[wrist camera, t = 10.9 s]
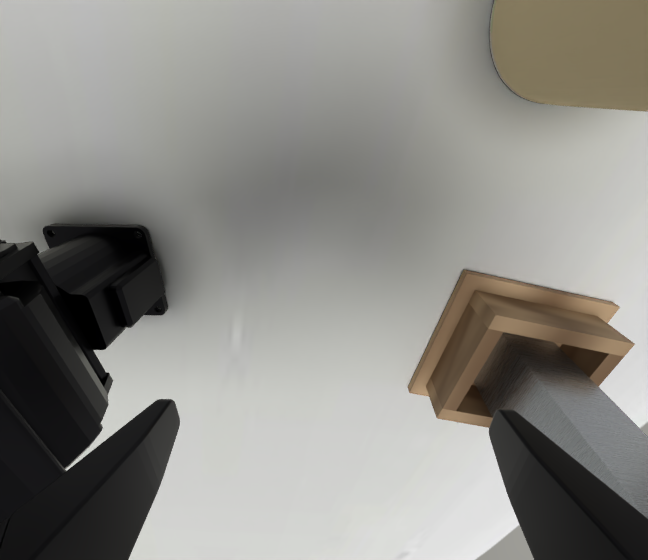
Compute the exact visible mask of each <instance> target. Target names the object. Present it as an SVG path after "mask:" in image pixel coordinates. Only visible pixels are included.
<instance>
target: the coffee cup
mask: <svg viewBox="0 0 648 560" xmlns="http://www.w3.org/2000/svg"><path fill="white" fill-rule="evenodd" d="M490 48H491V54H492V58H493V62H494V65H495V67H496V70H497V72H498V74H499V76H500V78H501V79H502V80H503V82H504V83H505V84H506V85H507V86H508V87H509V88H510V89H511V90H512V91H513V92H514V93H516V94H517V95H519V96H520V97H522V98H524V99H527V100H529V101H533V102H537V103H543V104H551V105H560V106H574V107H589V108H603V109H618V110H633V111H648V0H494V4H493V8H492V13H491V20H490Z"/></svg>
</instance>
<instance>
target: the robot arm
mask: <svg viewBox="0 0 648 560" xmlns="http://www.w3.org/2000/svg"><path fill="white" fill-rule="evenodd" d="M52 231H53V232H54V233H55V234H53V232H52ZM137 232H140V233H141V235H142V237H140V236H139V235H138V234H137ZM43 234H44V236H45V239H46V241H47V244H48V246H49V248H50V249H49V250H46V251H44V252H42V253H40V254H38V253H39V251H38V249H37V248H36V246H35V244H34V242H25V243H16V244H15V243H6V242H5V240H4V241H2V240H0V560H128V559H129V557H130V554H131V552H132V550H133V547H134V545H135V543H136V540H137V538H138V536H139V533H140V531H141V529H142V527H143V524H144V522H145V520H146V517H147V515H148V513H149V510H150V508H151V506H152V503H153V501H154V499H155V497H156V494H157V492H158V489H159V487H160V484H161V481H162V479H163V476H164V473H165V470H166V466H167V463H168V460H169V457H170V454H171V451H172V448H173V445H174V442H175V439H176V436H177V432H178V429H179V425H180V418H179V415H178V411H177V408H176V404H175V402H174V401H173V400H171V399H159V400H157V401H155V402H154V403H153V404H151V405H150V406H149V407H147V408H146V409H145V410H144V411H142V412H141V413H140V414H139V415H137V416H136V417H135V418H133V419H132V420H131V421H130V422H128V423H127V424H126V425H125V426H123V427H122V428H121V429H120V430H118V431H117V432H116V433H114V434H113V435H112V436H111V437H109V438H108V439H107V440H106V441H104V442H103V443H102V444H100V445H99V446H98V447H97V448H95V449H94V450H93V451H92V452H90V453H89V454H88V455H87V456H85V457H84V458H83V459H81V460H80V461H79V462H78V463H76V464H75V465H74V466H73V467H71V468H70V469H69V470H67V471H66V470H65V469H66V468H67V467H68V466H70V465H71V464H72V463H73V462H74V461H75V460H76V459H77V458H78V457H79V456H80V455H81V454H82V453H83V452H84V451H85V450H86V449H87V448H88V447H89V446H90V445H91V444H92V443H93V441H94V440H95V439H96V438H97V436H98V435H99V434H100V432H101V431H102V428H103V427H102V424H101V421H102V419H103V417H104V414H105V412H106V409H107V407H108V393H109V390H110V388H111V385H112V382H113V380H112V378H111V376H110V374H109V373H106V372H105V370H104V368H103V367H102V365H101V363H100V361H99V360H98V358H97V356H96V355H95V353H94V351H93V350H104V349H106V348H107V347H108V346H109V345H110V344H111V343H112V342H113V341H114V340H115V339H116V338H117V337H118V336H119V335H120V334H121V333H122V332H123V331H124V330H125V329H126V328H127V327H128V328H131V327H132V326H133V325H134V324H135V323H136V322H137V321H138V320H139V319H140V318H141V317H142V316H143V315H163V314H164V313H165V312H166V311H167V309H168V306H167V303H166V299H165V295H164V293H165V289H164V285H163V281H162V277H161V273H160V269H159V265H158V261H157V260H156V258H155V256H154V252H153V248H152V244H151V240H150V236H149V233H148V231H147V229H146V228H144V227H143V226H135V225H77V224H51V225H48V226H45V227H44V228H43ZM37 254H38V255H37ZM157 306H158V307H160V308H161V309H159V308H158V307H157ZM489 436H490V440H491V443H492V446H493V449H494V453H495V456H496V459H497V462H498V466H499V469H500V472H501V475H502V478H503V482H504V485H505V488H506V491H507V494H508V497H509V499H510V502H511V505H512V507H513V509H514V512H515V514H516V517H517V519H518V522H519V524H520V526H521V529H522V531H523V533H524V536H525V538H526V541H527V543H528V545H529V548H530V550H531V553H532V555H533V558H534V560H648V518H647V517H646V516H644V515H643V514H642V513H641V512H639V511H638V510H637V509H636V508H634V507H633V506H632V505H631V504H630V503H628V502H627V501H626V500H625V499H623V498H622V497H621V496H620V495H618V494H617V493H616V492H615V491H614V490H612V489H611V488H610V487H609V486H607V485H606V484H605V483H604V482H602V481H601V480H600V479H599V478H598V477H596V476H595V475H594V474H593V473H591V472H590V471H589V470H588V469H586V468H585V467H584V466H583V465H582V464H580V463H579V462H578V461H577V460H575V459H574V458H573V457H572V456H570V455H569V454H568V453H567V452H566V451H564V450H563V449H562V448H561V447H559V446H558V445H557V444H556V443H555V442H553V441H552V440H551V439H550V438H548V437H547V436H546V435H545V434H543V433H542V432H541V431H540V430H539V429H537V428H536V427H535V426H534V425H532V424H531V423H530V422H529V421H527V420H526V419H525V418H524V417H523V416H521V415H520V414H519V413H518V412H516V411H515V410H513V409H497V410H496V412H495V414H494V417H493V419H492V422H491V425H490V427H489Z"/></svg>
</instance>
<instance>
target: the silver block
mask: <svg viewBox="0 0 648 560" xmlns="http://www.w3.org/2000/svg"><path fill="white" fill-rule="evenodd" d="M474 384H475V385H476V387H477V389H478V391H479V393H480V395H481V397H482V399H483V400H484V402H485V404H486V406H487V408H488V410H489V412H490V413H491V415H492V417H494V414H495V412H496V410H497V409H513V410H515V411H516V412H518V413H519V414H520V415H521V416H523V417H524V418H525V419H526V420H527V421H529V422H530V423H531V424H532V425H534V426H535V427H536V428H537V429H539V430H540V431H541V432H542V433H543V434H545V435H546V436H547V437H548V438H550V439H551V440H552V441H553V442H555V443H556V444H557V445H558V446H559V447H561V448H562V449H563V450H564V451H566V452H567V453H568V454H569V455H570V456H572V457H573V458H574V459H575V460H577V461H578V462H579V463H580V464H582V465H583V466H584V467H585V468H586V469H588V470H589V471H590V472H591V473H593V474H594V475H595V476H596V477H598V478H599V479H600V480H601V481H602V482H604V483H605V484H606V485H607V486H609V487H610V488H611V489H612V490H614V491H615V492H616V493H617V494H618V495H620V496H621V497H622V498H623V499H625V500H626V501H627V502H628V503H630V504H631V505H632V506H633V507H634V508H636V509H637V510H638V511H639V512H641V513H642V514H643V515H644V516H646V517H647V518H648V436H647V435H646V434H645V433H643V431H642V430H641V429H640V428H639V427H638V426H637V425H636V424H635V423H634V422H633V421H632V420H631V419H630V418H629V417H628V416H627V415H626V414H625V413H624V412H623V411H622V410H621V409H620V408H619V407H618V406H617V405H616V404H615V403H614V402H613V401H612V400H611V399H610V398H609V397H608V396H607V395H606V394H605V393H604V392H603V391H602V390H601V389H600V388H599V387H598V386H597V385H596V384H595V383H594V382H593V381H592V380H591V379H590V378H589V377H588V376H587V375H586V374H585V373H584V372H583V371H582V370H581V369H580V368H579V367H578V366H577V365H576V364H575V363H574V362H573V361H572V360H571V359H570V358H569V357H568V356H567V355H566V354H565V353H564V352H563V351H562V350H561V349H560V348H559V347H558V346H557V345H556V344H555V342H551V341H546V340H541V339H536V338H531V337H526V336H521V335H517V334H512V333H507V332H503V334H502V335H501V337H500V339H499V340H498V342H497V344H496V345H495V347H494V349H493V350H492V352H491V354H490V355H489V357H488V359H487V360H486V362H485V364H484V365H483V367H482V369H481V370H480V372H479V374H478V375H477V377H476V379H475V380H474Z"/></svg>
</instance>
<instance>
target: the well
mask: <svg viewBox="0 0 648 560" xmlns="http://www.w3.org/2000/svg"><path fill="white" fill-rule="evenodd" d="M619 308H620V307H619V306H618V305H616V304H615V303H613V302H609V301H604V300H599V299H595V298H590V297H586V296H581V295H577V294H572V293H568V292H563V291H559V290H554V289H549V288H545V287H540V286H536V285H531V284H527V283H522V282H518V281H513V280H509V279H504V278H499V277H495V276H490V275H486V274H481V273H477V272H472V271H468V270H463V272H462V274H461V277H460V279H459V281H458V283H457V285H456V287H455V289H454V291H453V293H452V295H451V298H450V300H449V302H448V304H447V306H446V308H445V310H444V312H443V314H442V317H441V319H440V321H439V323H438V325H437V327H436V329H435V331H434V333H433V335H432V338H431V340H430V342H429V344H428V346H427V348H426V350H425V352H424V354H423V356H422V359H421V361H420V363H419V365H418V367H417V369H416V371H415V373H414V375H413V378H412V380H411V382H410V384H409V386H408V389H409V393H413V394H418V395H424V396H429V397H430V400H431V403H432V406H433V408H434V411H435V414H436V417H437V418H438V419H444V420H449V421H455V422H460V423H466V424H472V425H477V426H483V427H488V428H489V427H490V425H491V422H492V419H493V417H492V415H491V413H490V412H489V410H488V408H487V406H486V404H485V402H484V400H483V399H482V397H481V395H480V393H479V391H478V389H477V387H476V385H475V384H474V380H475V379H476V377H477V375H478V374H479V372H480V370H481V369H482V367H483V365H484V364H485V362H486V360H487V359H488V357H489V355H490V354H491V352H492V350H493V349H494V347H495V345H496V344H497V342H498V340H499V339H500V337H501V335H502V334H503V332H507V333H512V334H517V335H521V336H526V337H531V338H536V339H541V340H546V341H551V342H555V344H556V345H557V346H558V347H559V348H560V349H561V350H562V351H563V352H564V353H565V354H566V355H567V356H568V357H569V358H570V359H571V360H572V361H573V362H574V363H575V364H576V365H577V366H578V367H579V368H580V369H581V370H582V371H583V372H584V373H585V374H586V375H587V376H588V377H589V378H590V379H591V380H592V381H593V382H594V383H595V384H596V385H597V386H599V385H600V384H601V383H602V382H603V381H604V379H605V378H606V377H607V376H608V375H609V374H610V373H611V371H612V370H613V369H614V368H615V367H616V366H617V364H618V363H619V362H620V361H621V360H622V359H623V357H624V356H625V355H626V354H627V353H628V352H629V350H630V349H631V348H632V347H633V346H634V345H635V344H634V343H633V342H631V341H630V340H629V339H627V338H626V337H625V336H623V335H622V334H621V333H619V332H618V331H617V330H615V329H614V328H613V327H611V326H610V325H609V324H607V323H608V322H609V321H610V319H611V318H612V317H613V316H614V314H615V313H616V312H617V310H618V309H619Z"/></svg>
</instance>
